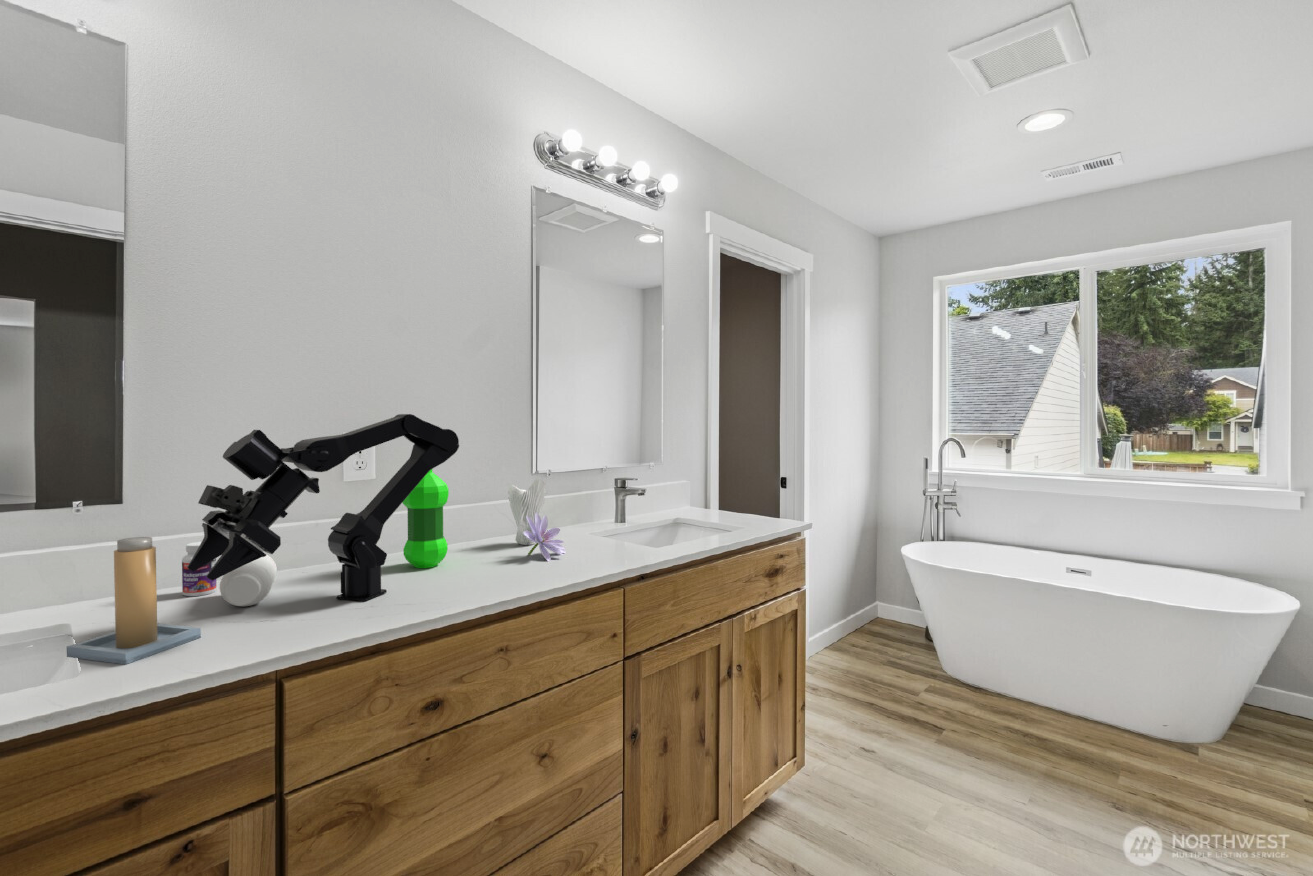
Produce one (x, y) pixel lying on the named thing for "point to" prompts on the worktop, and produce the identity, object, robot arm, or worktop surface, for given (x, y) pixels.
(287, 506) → the robot arm
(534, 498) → the shell sculpture
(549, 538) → the water lily
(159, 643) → the tray
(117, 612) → the cylinder
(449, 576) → the worktop surface
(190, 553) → the pill bottle
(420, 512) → the plastic bottle
